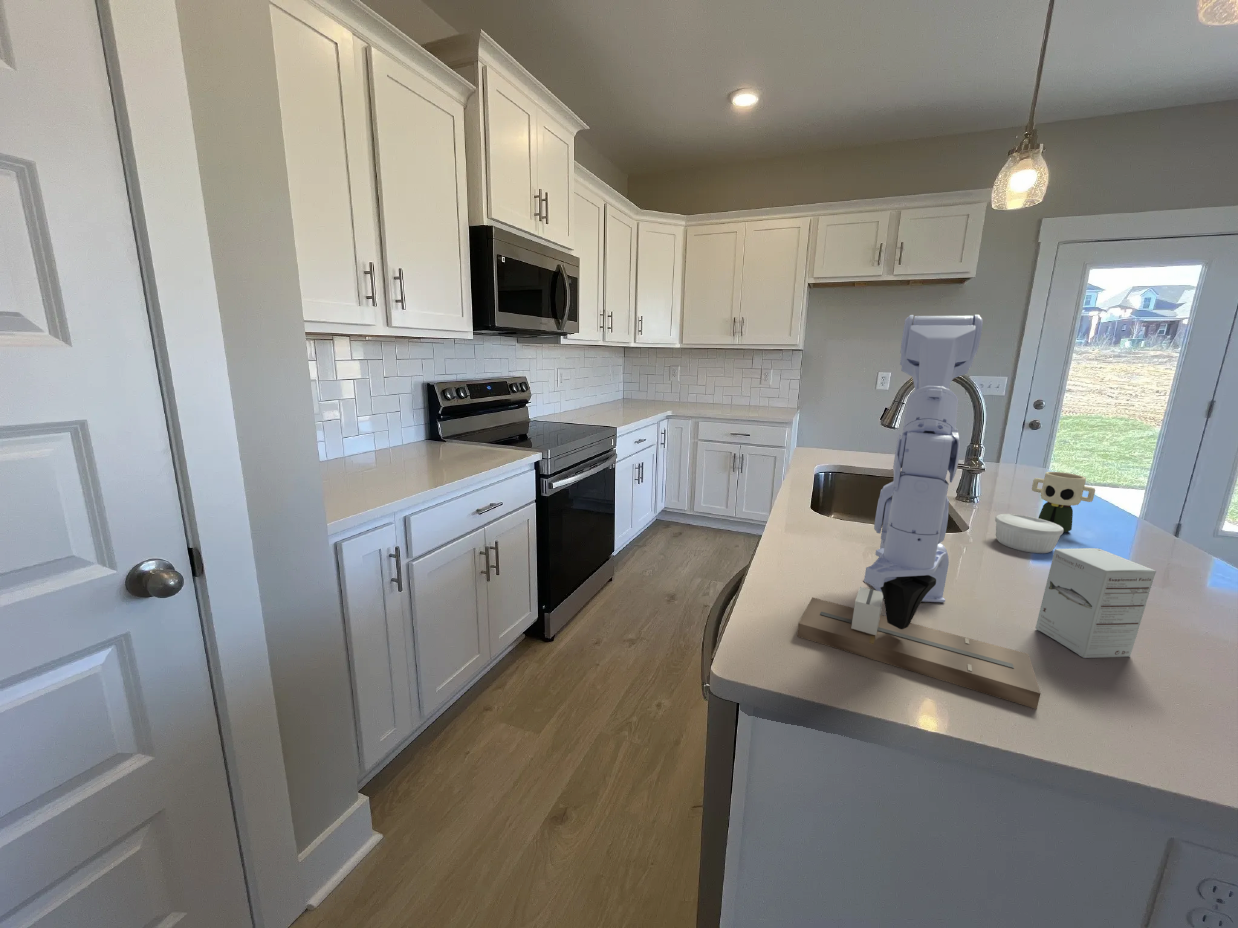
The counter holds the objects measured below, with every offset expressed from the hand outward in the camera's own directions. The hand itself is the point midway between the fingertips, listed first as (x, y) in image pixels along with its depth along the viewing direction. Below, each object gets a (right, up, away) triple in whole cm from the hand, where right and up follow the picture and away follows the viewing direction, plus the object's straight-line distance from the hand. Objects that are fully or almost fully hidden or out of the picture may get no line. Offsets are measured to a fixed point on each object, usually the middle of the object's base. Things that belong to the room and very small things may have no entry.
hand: (897, 624), depth 67 cm
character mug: (+64, +6, +50) cm, 81 cm away
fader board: (+1, -4, 0) cm, 4 cm away
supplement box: (+27, -4, +3) cm, 28 cm away
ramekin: (+49, +4, +40) cm, 63 cm away
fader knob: (-3, -1, +2) cm, 4 cm away
